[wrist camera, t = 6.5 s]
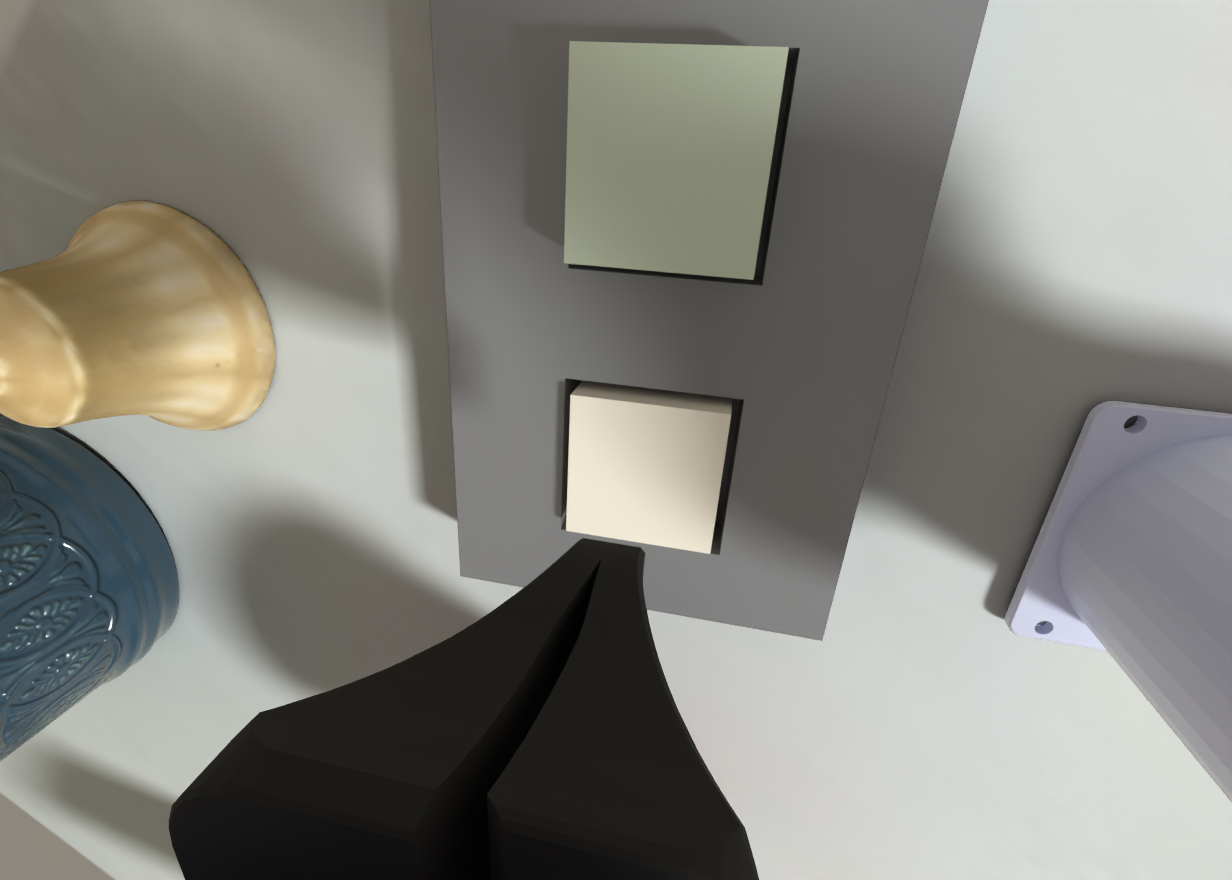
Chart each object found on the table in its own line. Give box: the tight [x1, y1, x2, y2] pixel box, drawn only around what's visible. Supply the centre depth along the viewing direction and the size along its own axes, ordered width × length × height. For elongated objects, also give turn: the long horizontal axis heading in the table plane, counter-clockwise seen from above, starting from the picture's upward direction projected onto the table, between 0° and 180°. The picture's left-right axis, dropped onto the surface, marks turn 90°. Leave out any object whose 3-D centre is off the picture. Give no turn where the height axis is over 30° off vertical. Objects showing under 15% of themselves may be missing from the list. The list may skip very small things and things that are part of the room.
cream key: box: [566, 380, 732, 554], centre depth 17 cm, size 4×4×2 cm
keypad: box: [430, 0, 989, 641], centre depth 15 cm, size 12×26×2 cm, turn 177°
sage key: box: [564, 41, 789, 280], centre depth 13 cm, size 4×4×2 cm
